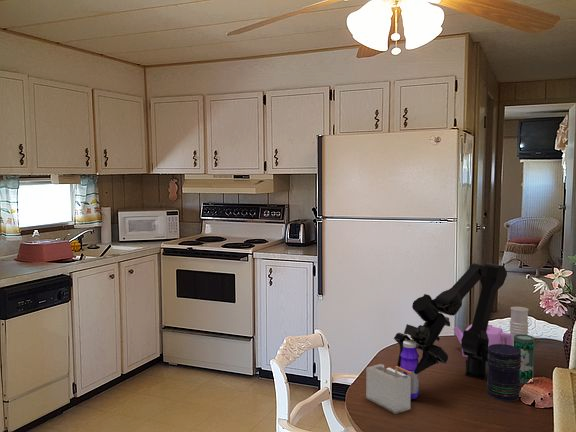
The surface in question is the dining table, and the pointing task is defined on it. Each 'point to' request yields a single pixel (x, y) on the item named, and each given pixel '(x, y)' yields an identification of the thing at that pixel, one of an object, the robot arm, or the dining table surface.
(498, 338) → the teakettle
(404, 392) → the grey open box
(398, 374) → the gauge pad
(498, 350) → the storage jar
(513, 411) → the dining table surface
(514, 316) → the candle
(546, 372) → the dining table surface
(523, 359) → the can
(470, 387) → the dining table surface
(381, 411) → the dining table surface
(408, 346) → the bottle
